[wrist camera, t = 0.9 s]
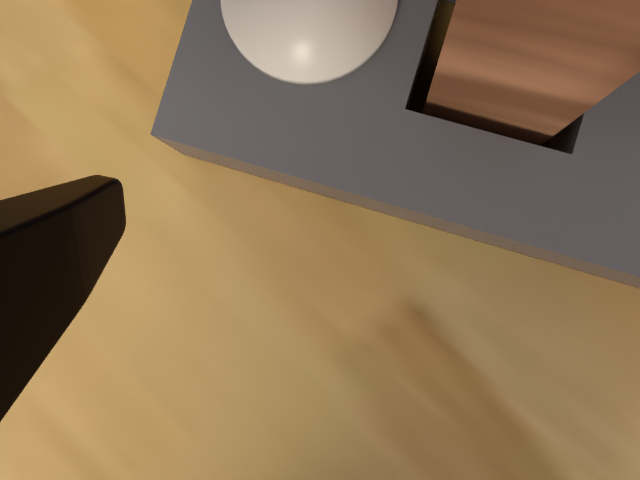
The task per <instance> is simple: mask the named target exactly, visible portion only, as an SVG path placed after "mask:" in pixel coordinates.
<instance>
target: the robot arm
mask: <svg viewBox="0 0 640 480" xmlns="http://www.w3.org/2000/svg"><path fill="white" fill-rule="evenodd" d="M125 226H126V215H125V205H124V194H123V187H122V184H121V182H120V181H119V180H118V179H116V178H111V177H106V176H101V175H93V176H89V177H85V178H82V179H78V180H74V181H70V182H67V183H63V184H59V185H56V186H52V187H48V188H44V189H41V190H37V191H33V192H30V193H26V194H22V195H18V196H15V197H11V198H7V199H4V200H0V422H1V420H2V419H3V417H4V416H5V415H6V413H7V412H8V410H9V409H10V407H11V406H12V405H13V403H14V402H15V400H16V399H17V398H18V396H19V395H20V393H21V392H22V391H23V389H24V388H25V386H26V385H27V384H28V382H29V381H30V379H31V378H32V377H33V375H34V374H35V372H36V371H37V370H38V368H39V367H40V365H41V364H42V363H43V361H44V360H45V358H46V357H47V356H48V354H49V353H50V351H51V350H52V349H53V347H54V346H55V344H56V343H57V342H58V340H59V339H60V337H61V336H62V334H63V333H64V332H65V330H66V329H67V327H68V326H69V325H70V323H71V322H72V320H73V319H74V318H75V316H76V315H77V313H78V312H79V311H80V309H81V308H82V306H83V305H84V303H85V302H86V300H87V298H88V297H89V295H90V293H91V292H92V290H93V288H94V286H95V285H96V283H97V281H98V279H99V277H100V275H101V274H102V272H103V270H104V268H105V266H106V264H107V263H108V261H109V259H110V257H111V255H112V254H113V252H114V250H115V248H116V246H117V244H118V243H119V241H120V239H121V237H122V235H123V233H124V230H125Z"/></svg>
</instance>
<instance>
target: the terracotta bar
mask: <svg viewBox="0 0 640 480" xmlns="http://www.w3.org/2000/svg"><path fill="white" fill-rule="evenodd" d="M639 71H640V0H456V3H455V7H454V10H453V13H452V17H451V20H450V23H449V26H448V30H447V33H446V36H445V40H444V43H443V46H442V50H441V53H440V56H439V60H438V63H437V66H436V70H435V73H434V76H433V79H432V83H431V86H430V89H429V93H428V96H427V99H426V103H425V106H424V109H423V113H422V114H425V115H429V116H432V117H436V118H440V119H443V120H447V121H451V122H454V123H458V124H462V125H465V126H469V127H473V128H476V129H480V130H484V131H487V132H491V133H495V134H498V135H502V136H506V137H509V138H513V139H517V140H520V141H524V142H528V143H531V144H535V145H539V146H541V145H542V144H543V143H545V142H546V141H547V140H549V139H550V138H551V137H553V136H554V135H555V134H557V133H558V132H559V131H561V130H562V129H563V128H565V127H566V126H567V125H569V124H570V123H571V122H573V121H574V120H575V119H577V118H578V117H579V116H581V115H582V114H583V113H585V112H586V111H587V110H589V109H590V108H591V107H593V106H594V105H595V104H597V103H598V102H599V101H601V100H602V99H603V98H605V97H606V96H607V95H609V94H610V93H611V92H613V91H614V90H615V89H617V88H618V87H619V86H621V85H622V84H623V83H625V82H626V81H627V80H629V79H630V78H631V77H633V76H634V75H635V74H637V73H638V72H639Z"/></svg>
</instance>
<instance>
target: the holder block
mask: <svg viewBox="0 0 640 480" xmlns="http://www.w3.org/2000/svg"><path fill="white" fill-rule="evenodd" d="M443 1H447V2H451V3H456V0H443ZM439 4H440V0H192V4H191V7H190V10H189V13H188V16H187V19H186V23H185V26H184V29H183V32H182V35H181V39H180V42H179V45H178V48H177V51H176V55H175V58H174V61H173V64H172V67H171V71H170V74H169V77H168V80H167V83H166V86H165V90H164V93H163V96H162V99H161V102H160V106H159V109H158V112H157V115H156V118H155V122H154V125H153V128H152V131H151V135H152V136H154V137H156V138H157V139H159V140H160V141H162V142H164V143H165V144H167V145H169V146H170V147H172V148H174V149H175V150H177V151H179V152H180V153H182V154H184V155H187V156H190V157H193V158H197V159H200V160H204V161H207V162H211V163H214V164H217V165H221V166H224V167H228V168H231V169H234V170H238V171H241V172H245V173H248V174H251V175H255V176H258V177H262V178H265V179H268V180H272V181H275V182H279V183H282V184H286V185H289V186H292V187H296V188H299V189H303V190H306V191H309V192H313V193H316V194H320V195H323V196H326V197H330V198H333V199H337V200H340V201H343V202H347V203H350V204H354V205H357V206H361V207H364V208H367V209H371V210H374V211H378V212H381V213H384V214H388V215H391V216H395V217H398V218H401V219H405V220H408V221H412V222H415V223H418V224H422V225H425V226H429V227H432V228H435V229H439V230H442V231H446V232H449V233H453V234H456V235H459V236H463V237H466V238H470V239H473V240H476V241H480V242H483V243H487V244H490V245H493V246H497V247H500V248H504V249H507V250H510V251H514V252H517V253H521V254H524V255H528V256H531V257H534V258H538V259H541V260H545V261H548V262H551V263H555V264H558V265H562V266H565V267H568V268H572V269H575V270H579V271H582V272H585V273H589V274H592V275H596V276H599V277H603V278H606V279H609V280H613V281H616V282H620V283H623V284H626V285H630V286H633V287H637V288H640V71H639V72H638V73H637V74H635V75H634V76H633V77H631V78H630V79H629V80H627V81H626V82H625V83H623V84H622V85H621V86H619V87H618V88H617V89H615V90H614V91H613V92H611V93H610V94H609V95H607V96H606V97H605V98H603V99H602V100H601V101H599V102H598V103H597V104H595V105H594V106H593V107H591V108H590V109H589V110H587V111H586V112H585V113H583V114H582V115H581V116H579V117H578V118H577V119H575V120H574V121H573V122H571V123H570V124H569V125H567V126H566V127H565V128H563V129H562V130H561V131H559V132H558V133H557V134H555V135H554V136H553V137H551V140H550V143H549V147H548V148H546V147H542V146H539V145H535V144H531V143H528V142H524V141H520V140H517V139H513V138H509V137H506V136H502V135H498V134H495V133H491V132H487V131H484V130H480V129H476V128H473V127H469V126H465V125H462V124H458V123H454V122H451V121H447V120H443V119H440V118H436V117H432V116H429V115H425V114H421V113H417V112H414V111H410V110H407V109H408V106H409V103H410V100H411V96H412V93H413V90H414V86H415V83H416V80H417V76H418V73H419V70H420V67H421V63H422V60H423V57H424V53H425V50H426V47H427V43H428V40H429V37H430V34H431V30H432V27H433V24H434V20H435V17H436V14H437V10H438V7H439Z"/></svg>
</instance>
